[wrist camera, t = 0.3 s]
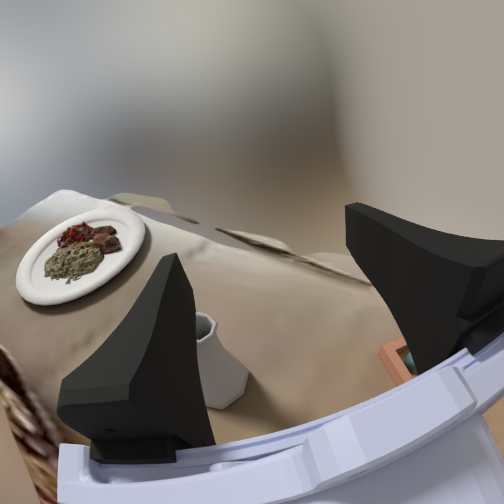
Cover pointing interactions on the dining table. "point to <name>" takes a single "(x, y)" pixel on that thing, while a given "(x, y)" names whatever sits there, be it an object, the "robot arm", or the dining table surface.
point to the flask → (217, 366)
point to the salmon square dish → (396, 360)
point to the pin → (410, 364)
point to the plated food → (79, 255)
